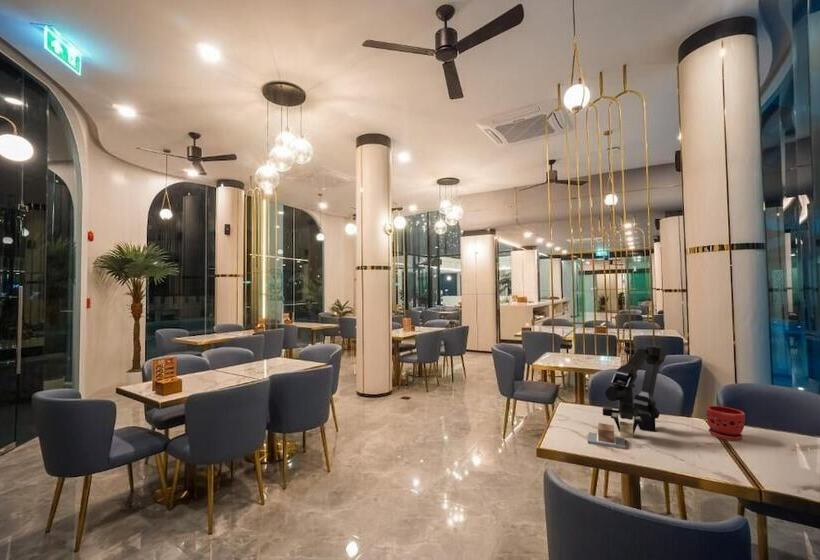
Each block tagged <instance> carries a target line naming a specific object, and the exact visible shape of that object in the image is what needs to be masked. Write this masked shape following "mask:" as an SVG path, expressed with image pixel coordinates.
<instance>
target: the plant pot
mask: <svg viewBox="0 0 820 560" xmlns="http://www.w3.org/2000/svg"><path fill="white" fill-rule="evenodd" d="M706 418H707V419H706V420H707V423H708V425H709V428H708V431H709V433H710V435H712V436H714V437H715V438H718V439H721V440H725V441H727V440H728V441H740V440H741V439H743V434H742V432H743V430H744V428H745V423H746V413H745V412H744V411H742V410H740V409H737V408H732V407H727V406H719V405H709V406H707V407H706Z"/></svg>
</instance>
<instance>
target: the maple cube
mask: <svg viewBox="0 0 820 560" xmlns="http://www.w3.org/2000/svg"><path fill="white" fill-rule="evenodd" d="M619 425H620V432H619V437H624V438H630V439H633V438H634V434H633V422H627V421H620V420H619Z"/></svg>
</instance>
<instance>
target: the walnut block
mask: <svg viewBox="0 0 820 560" xmlns="http://www.w3.org/2000/svg"><path fill="white" fill-rule="evenodd" d="M597 433H598V441H602V442H608V443H614V436H615V426H614V424H608V423H607V424H606V423H600V422H598V426H597Z"/></svg>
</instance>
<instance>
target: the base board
mask: <svg viewBox="0 0 820 560" xmlns="http://www.w3.org/2000/svg"><path fill="white" fill-rule="evenodd" d="M587 444H590V445H596V446H603V447H608V448H609V447H610V448H614V449H615V448H616V449H621V450H626V441H625V437H623V436H618V435H614V443H608V442H602V441H598V432H597V433H596V432H590V431H588V436H587Z"/></svg>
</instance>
